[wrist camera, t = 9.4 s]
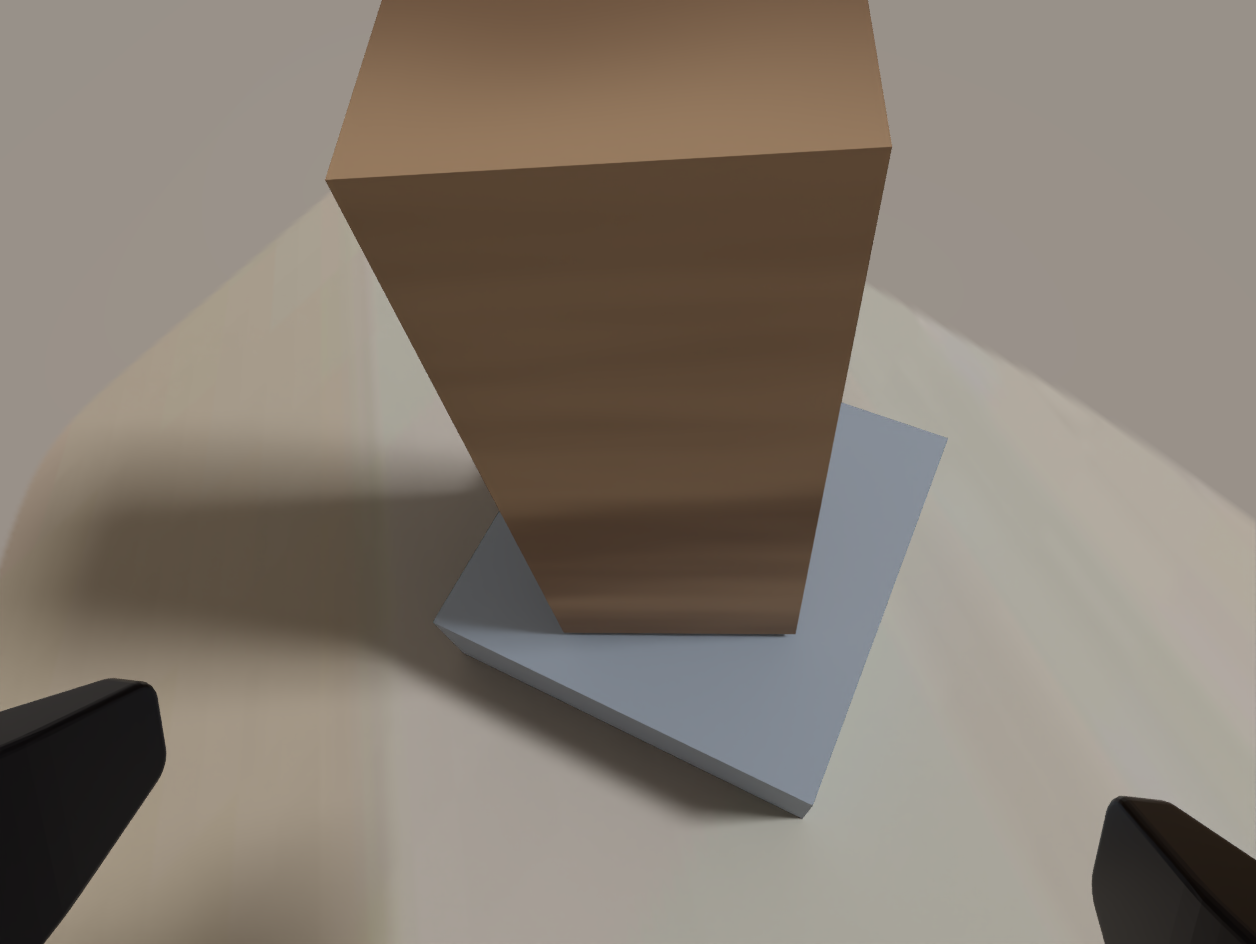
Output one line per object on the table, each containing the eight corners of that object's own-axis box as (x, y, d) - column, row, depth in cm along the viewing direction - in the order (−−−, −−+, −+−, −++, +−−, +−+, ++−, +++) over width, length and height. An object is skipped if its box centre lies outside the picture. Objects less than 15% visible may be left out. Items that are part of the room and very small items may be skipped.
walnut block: (795, 634, 18) (892, 147, 7) (563, 633, 18) (325, 180, 8) (783, 434, 20) (842, -153, 10) (580, 438, 21) (416, -111, 10)
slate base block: (800, 820, 19) (813, 805, 16) (468, 658, 22) (432, 622, 19) (921, 494, 22) (947, 438, 20) (622, 387, 25) (610, 324, 22)
